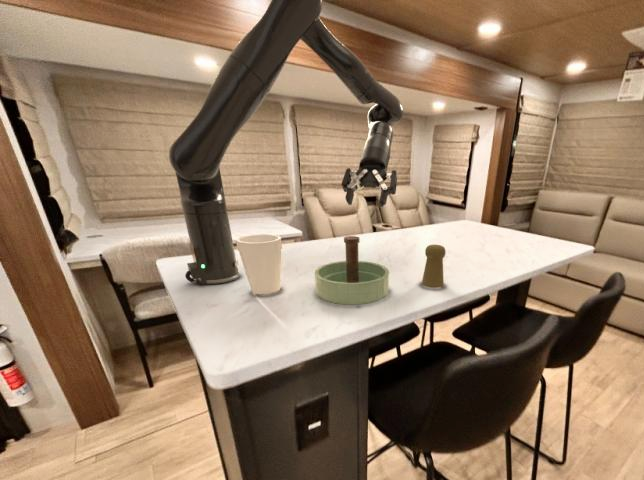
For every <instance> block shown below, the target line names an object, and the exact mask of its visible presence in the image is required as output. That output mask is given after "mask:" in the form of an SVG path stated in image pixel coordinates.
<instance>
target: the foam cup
mask: <svg viewBox="0 0 644 480" xmlns="http://www.w3.org/2000/svg"><path fill="white" fill-rule="evenodd" d="M235 244H236V249H237V252H238V253H239V256H240V260H241V262H242V265H243V268H244V271H245V275H246V277H247V280H248V281H247V282H248V284H249V287H250V291H251V293H252V295H254V296H256V297H257V296H258V295H270V294H274V293H277V292H279V291H280V290H281V289H282V288H281V286H282V284H281V282H282V279H281V278H282V277H281V276H282V249H283V243H282V236H280V235H279V234H270V233H257V234H248V235H242V236H239V237H236V239H235Z"/></svg>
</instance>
